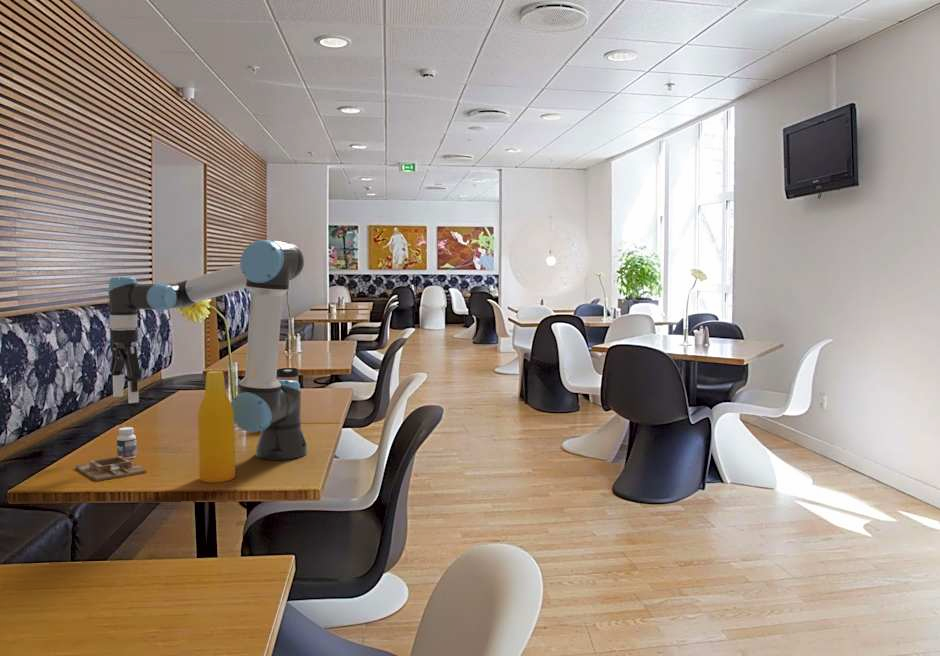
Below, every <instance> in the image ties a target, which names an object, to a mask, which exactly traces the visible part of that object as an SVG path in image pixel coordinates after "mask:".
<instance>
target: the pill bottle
mask: <svg viewBox="0 0 940 656" xmlns="http://www.w3.org/2000/svg"><path fill="white" fill-rule="evenodd" d="M134 431H135V430H134V427H131V426H128V427H127V426H125V427H121V428H118V434H119V435H118V436H117V437H116V449H117V450H116V451H117V452H116V453H117V454H116V457H118V456H122V457H124V458H126V459H128V460H131V458H132V459H135V458H136V457H137V437H136V434H134Z"/></svg>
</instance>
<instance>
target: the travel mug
mask: <svg viewBox="0 0 940 656" xmlns="http://www.w3.org/2000/svg"><path fill="white" fill-rule="evenodd" d="M276 378H277V380H296V381H298V382H299V369H298V368H297V367H282V368H277V374H276Z"/></svg>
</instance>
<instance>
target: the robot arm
mask: <svg viewBox="0 0 940 656" xmlns="http://www.w3.org/2000/svg"><path fill="white" fill-rule="evenodd" d="M239 261H240V263H237V264H234V265H231V266H228V267H225V268H221V269H218V270H216V271H211V272H209V273H205V274H203V275H200V276H195V277H192V278H189V279H186V280H184V281H183V280H181V281H180V282H176V283H138V282H137V278H136V277H134V276H113V277H110V278H109V280H108V281H109V282H108V292H107V293H108V301H109V302H108V303H109V316H108V317H109V328H110V329H111V330H110V331H109V339H110V342H111V343H112V352H111V358H110V367H109V372H110V373H111V375H112V397H113V398H118V397H124V370H123V369H124V367H125V370H126V374H127V379H126V382H127V392H128V393H127V394H128V397H127V398H128V399H127V400H128V404H137V403H140V395H139V394H140V393H139V381H140V380H141V379H142V373H141V367H140V363H139V358H138V350H137V349H138V347H137V346H133V343H137V342H138V341H139V331H138V329H136V328H138V321H139V320H140V318H139V317H138V310H152V311H169V310H171V309H176V308H181V309H183V308H184V309H185V308H189V307H192V306H194V305H195V304H197V303H199V302H203V301H207V300H211V299H213V298H216V297H220V296H224V295H227V294H231V293H234V292H237V291H240V290H244V289H247V290H248V291H249V292H250V303H249V305H250V306H249V308H250V309H249V317H248V318H249V319H248V331H247V332H248V333H247V347H246V361H245V362H246V363H245V372H244V373H245V375H244V377H243V378H242V379H241V380H240V381H239V382H238V392H237V393H238V394H236V395H235V397H233V399H232V400H231V401H230V402H231V405H232V407H233V412H234V424H235V425H236V426H237V428H239V429H240V430H242V431H245V432H246V433H247V432H248V433H256V432H260V434H259V438H258V441H257V444H256V449H255V456H256V457H257V458H258V459H261V460H269V461H285V460H292V459H297V458H301V457H303V456H306V455H307V454H308V446H307V445H308V444H307V442H306V440H305V437H304V434H303V430H302V426H301V425H302V419H301V417H302V416H301V415H302V414H301V413H302V412H301V411H302V410H301V408H302V407H301V404H302V403H301V402H302V401H301V398H302V397H301V393H302V391H301V383H300V382H299V380H298V381H296V380H277V369H278V359H279V358H278V357H279V347H280V345H279V344H280V334H281V319H282V307H283V296H284V295H285V294H286V293H287V292H288V291H289V289H290V288H289V286H290V281H291V280H294V279H296V278H298V276H299V275H300V274H301V272H302V271H303V269H304V265H305V257H304V255H303V253H302V251H301V249H300V248H299V246H297V245H296V244H294V243H292V242H289V241H285V240H283V241H282V240H281V241H280V240H271V239H262V240H256V241H253V242H251V243H250V244H248V245H247V246H246V247H245V248H244V250H243V251H242V254H241V256H240V260H239Z"/></svg>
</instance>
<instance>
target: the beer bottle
mask: <svg viewBox="0 0 940 656" xmlns="http://www.w3.org/2000/svg"><path fill="white" fill-rule="evenodd" d="M231 402H232V401H231V400H230V399H229V397H228V394H227V391H226V383H225V375H224V371H222V370H221V371H220V370H217V371H216V370H214V371H213V370H212V371H206V376H205V390H204V396H203V398H202V400H201V402H200V405H199V408H198V410H197V411H198V413H197V421H198V423H197V425H198V428H197V429H198V430H197V431H198V460H199V461H198V465H199V466H198V467H199V469H198V475H199V479H200V481H201V482H204V483H211V484H212V483H213V484H215V483H216V484H217V483H223V482H228V481H231V480H233V479H234V478H235V475H236V461H235V460H236V459H235V457H236V456H235V423H234V412H233V407H232V405H231Z"/></svg>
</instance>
